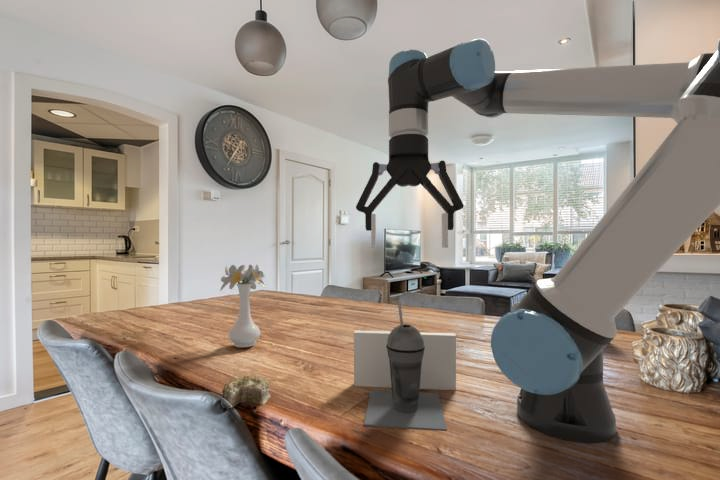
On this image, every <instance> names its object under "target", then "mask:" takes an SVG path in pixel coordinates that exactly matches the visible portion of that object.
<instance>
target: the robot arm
mask: <svg viewBox="0 0 720 480" xmlns="http://www.w3.org/2000/svg"><path fill="white" fill-rule="evenodd" d="M494 55H495V54H494V51H493V50H492V48H491V44H490V43H489V42H488V41H487V40H486V39H484V38H475V39H472V40H470V41H466V42H461V43H459V44H456V45H455V46H453V47H452V46H451V47H450V48H447V49H445V50H442V51H440V52H437V53H436V54H433V55H431V56H427V54H426V53H425V52H424V51H421V50H419V49H409V50H401V51H398V52H396V53H395V54H394V55H392V57H391V59H390V60H389V65H388V76H387V77H388V78H387V84H388V100H389V101H388V102H389V104H388V105H389V106H388V107H389V111H388V137H389V138H390V139H389V140H388V163H387V164H386V163H385V164H384V163H379V162H377V161H375V162H373V163H372V169H371V175H370V177H369V179H368V181H367V182H366V185H365V187H364V189H363V190H362V193H361V195H360V197H359V200H358V202H357V203H356V205H355V209H356V210H357V211H358V212H360V213H363V214H364V217H365V219H364V220H365V222H364V223H365V230H366V232H367V231H368V232H370V231H371V236H370V239H371V240H370V241H371V244H370V245H371V246H370V247H371V249H376V248H377V225H376V224H377V214H376V213H373V212H374V211H375V210H376V209H377V207H378V206H379V205H380V204H381V203H382V202H383V200H384V199H385V198H386V197H387V196H388V194H389V193H390V192H391V191H392V190H393V189H394V188H395V186H396V185H397V186H399V187H403V188H405V187H408V186H409V187H418V186H419V185H421V186H422V187H423V188H424V189H425V190H426V191H427V193H428V194H429V195H430V196H431V197H432V198H433V199H434V200H435V201H436V202H437V203H436V204H438V205H439V206H440V207H441V208H442V209H443V210H444V212H443V213H441V247H442V248H443V249H446V248H447V249H448V248H449V231H453V229H454V214H455V212H457V211H460V210H462V209H464V203H463V201H462V199H461V197H460V195H459V193H458V191H457V190H456V188H455V186H454V184H453V182H452V180H451V178H450V176H449V174H448V172H447V166H446V164H447V163H446V161H445V160H443V159H442V160H439V162H432V163H431V162H430V160H429V138H428V137H427V136H428V135H429V104H430V102H436V101H439V100H442V99H447V98H450V97H452V98H454V99H455V100H456V101H458V102H460V103H461V104H463V105H464V106H466V107H468V108H469V109H470V110H473V112H474V113H476V114H477V115H479V116H481V117H486V118H491V119H492V118H498V117H499V116H502V115H503V114H514V115H516V114H517V115H518V114H522V115H524V114H525V115H551V116H552V115H553V116H554V115H555V116H557V115H559V116H563V115H564V116H585V117H586V116H587V117H589V116H591V117H593V116H594V117H621V118H622V117H628V118H657V119H658V118H660V119H661V118H662V119H663V118H664V119H672V120H674V121H675V123H676V125H675V126H674V128H673V129H672V131H670V133H669V134H668V135H667V137H666V138H665V139H664V140H663V141H662V143H661V144H660V145H659V146H658V148H656V150H655V152H654V153H653V154H652V155H651V156H650V157H649V159H648V160H647V162H645V164H644V165H643V166H642V168H641V169H640V170H639V171H638V173H637V174H636V175H635V177H634V178H633V179H632V180H631V182H630V183H629V184H628V185H627V187H626V188H625V189H624V190H623V191H622V192H621V194H620V195H619V197H617V199H616V200H615V201H614V202H613V204H612V205H611V206H610V208H609V209H608V210H607V211H606V213H605V214H604V215H603V216H602V217H601V218H600V220H599V221H598V223H597V224H596V225H595V226H594V227H593V229H592V230H591V231H590V233H588V235H587V236H586V238H585V239H584V240H583V241H582V243H580V245H579V246H578V247H577V249H576V250H575V251H574V252H573V254H572V255H571V256H570V257H569V258H568V260H567V261H566V262H565V263H564V265H563V266H562V267H561V269H559V271H558V272H557V273H556V274H555V275H554V277H549V278H542V279H541V278H540V279H538V280H536V281H535V283H534V284H533V285H532V287H531V288H529V289H528V292H527V293H526V294H525V296H523V298H522V299H521V300H520V301H519V303H517V305H516V307H515V308H514V309H513V310H510V311H508V312H507V313H505V314H504V315H502V316H500V318H499V320H498V321H497V322H496V324H495V325H494V327H493V329H492V331H491V336H490V348H491V353H492V355H493V356H492V357H493V360H494V361H495V362H494V363H495V364H496V365H497V367H498V369H499V370H500V372H501V373H502V374H503V375H504V376H505V377H506V379H508V380H509V381H510V382H511V383H513V385H516V387H519V389H520V391H519V393H518V395H517V399H516V413H517V415H518V417H519V418H520V419H521V420H522V421H523V422H524V423H525V424H526V425H528V426H530V427H531V428H533V429H534V430H536V431H539V432H540V433H542V434H546V435H548V436H552V437H554V438H557V439H562V440H565V441H570V442H575V443H586V444H593V443H595V444H597V443H603V442H604V443H605V442H607V441H610V440H612V439H613V438H614V437H616V434H617V433H616V432H617V419H616V415H615V413H614V412H613V408H612V404H611V402H610V399H609V395H608V393H607V390H606V388H605V384H604V349H605V348H606V347H607V346H609V344H610V343H611V342H612V341H613V340H614V339H615V338H616V337H617V336H618V330H617V325H616V320H615V318H616V316H617V315H618V314H620V312H622V310H623V309H625V307H626V306H627V304H629V303H630V301H631V300H632V299H633V298H635V297H636V295H637V294H638V293H639V292H640V291H641V290H642V289H643V288H644V287H645V286H646V285H647V284H648V282H650V280H651V279H652V278H653V277H654V276H655V275H656V274H657V273H658V272H659V271H660V269H662V268H663V266H664V265H665V264H666V263H667V262H668V261H669V260H670V259H671V258H672V257H673V256H674V255H675V254H676V252H677V251H678V250H679V249H680V248H681V247H682V246H683V245H684V244H685V242H687V241H688V239H690V237H691V236H692V235H694V233H695V232H697V230H698V229H699V228H700V227H701V226H702V225H703V223H705V221H706V220H707V219H708V218H709V217H711V215H712V214H713V213H714V212H715V210H717V209H718V207H719V206H720V39H718V45H717V50H716V51H715V52H711V53H710V52H709V53H708V52H707V53H701V54H699V55H698V56H697V57H695V58H694V59H692V60H690V61H689V62H688V61H687V62H675V63H674V62H669V63H653V64H652V63H651V64H650V63H649V64H632V65H630V64H629V65H627V64H626V65H613V66H612V65H611V66H595V67H594V66H592V67H591V66H590V67H574V68H573V67H572V68H571V67H570V68H569V67H568V68H567V67H566V68H556V69H555V68H554V69H553V68H551V69H533V70H532V69H531V70H514V71H513V70H512V71H496V61H495V56H494ZM430 171H433V172H434V174H435V175H438V178H439V180H440V181H441V184H442V186H443V188H444V189H445V191H446V193H447V195H448V197H449V200H450V201H451V203H452V204H451V203H450V202H449V201H448V199H446V197H444V195H443V193H442V192H440V190H438V189H437V188H436V186H435V185H434V184H433V182H432V181H431V179H429V177H428V175H429V172H430ZM384 172H386V173H388V175H389V177H390V179H389V180H388V181H387V182H386V184H385V185H384V186H383V187H382V188H381V190H380V191H379V192H378V194H377V195H376V196H375V197H374V198H373V199H372V201H371V202H370V203H369V204H368V205H367V206H366V204H367V202H368V200H369V199H370V195H371V194H372V192H373V190H374V188H375V185H376V184H377V181H378V179H379V176H382V175H383V174H384Z"/></svg>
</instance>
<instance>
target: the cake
mask: <svg viewBox="0 0 720 480" xmlns="http://www.w3.org/2000/svg"><path fill="white" fill-rule="evenodd" d="M269 387H270V385H269V381H268V380H267V379H265V378H263V377H261V376H258V375H257V376H254V375H251V376H249V375H244V376H240V377H238V378H234V379H230V381H228V382H226V383H225V385H224V386H223V389H222V396H221V398H222V397H223V398H225V399H226V400H227V401H229V402H230V404H231V405H232V406H233V408H234V407H236V406H237V405H238V404H239V403H246V402H249V403H253V404H256V405H260V406H263V405H265V404H266V403H267V402H268V401H269V400H270V399H271V396H272V395H271V393H270V392H269V391H270V390H269Z"/></svg>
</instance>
